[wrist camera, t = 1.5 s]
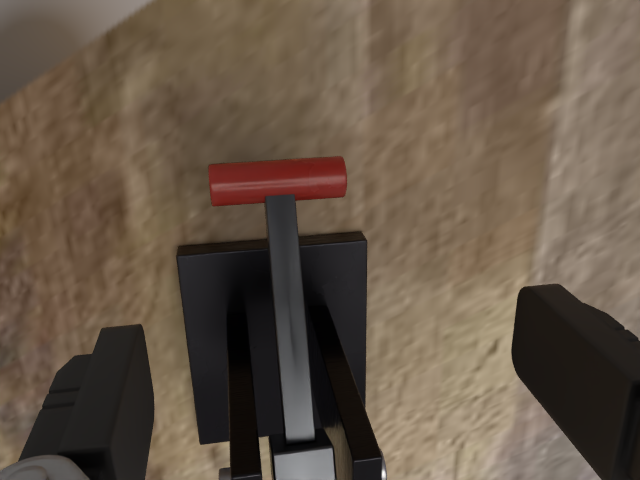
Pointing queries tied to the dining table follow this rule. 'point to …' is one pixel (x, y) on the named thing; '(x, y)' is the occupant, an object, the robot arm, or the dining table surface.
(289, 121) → the dining table surface
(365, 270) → the bracket
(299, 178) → the lever
